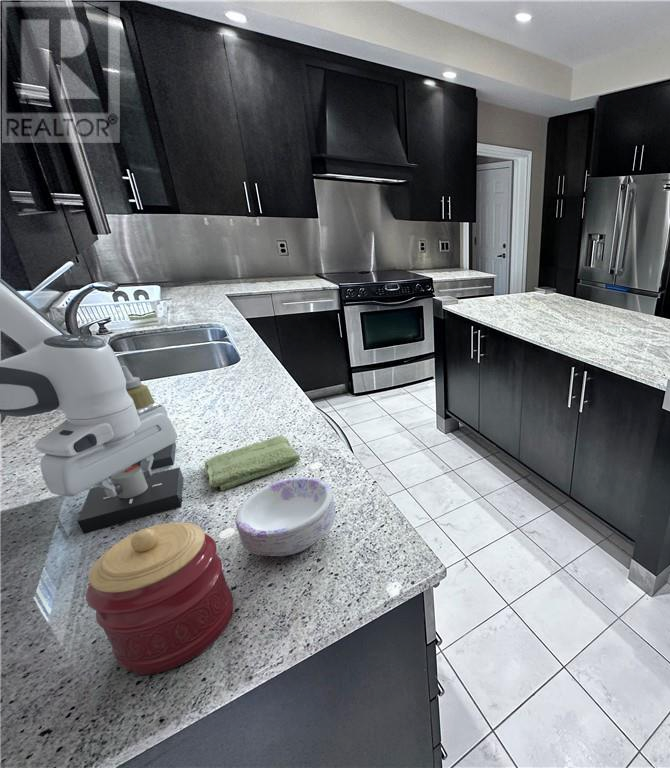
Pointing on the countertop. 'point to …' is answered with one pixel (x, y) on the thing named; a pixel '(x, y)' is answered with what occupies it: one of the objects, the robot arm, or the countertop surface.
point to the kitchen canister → (160, 596)
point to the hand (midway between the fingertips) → (130, 485)
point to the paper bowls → (286, 516)
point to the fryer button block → (162, 457)
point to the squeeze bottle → (137, 390)
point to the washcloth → (250, 462)
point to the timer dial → (130, 481)
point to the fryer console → (132, 502)
